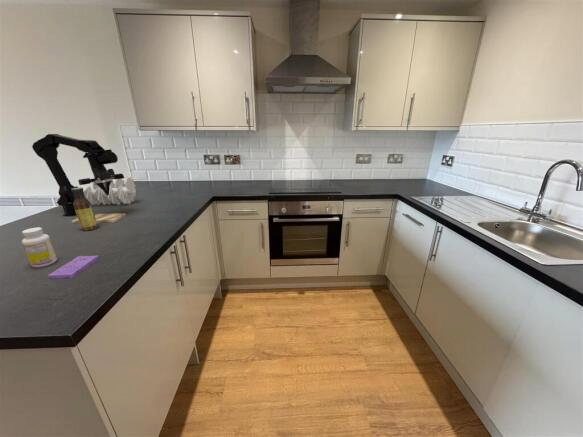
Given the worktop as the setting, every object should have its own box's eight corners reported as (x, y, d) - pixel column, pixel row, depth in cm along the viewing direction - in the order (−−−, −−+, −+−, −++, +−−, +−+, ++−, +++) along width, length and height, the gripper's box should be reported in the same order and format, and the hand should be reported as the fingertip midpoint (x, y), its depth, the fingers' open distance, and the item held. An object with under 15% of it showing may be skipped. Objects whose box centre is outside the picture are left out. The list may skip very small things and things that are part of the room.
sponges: (99, 259, 89) (98, 255, 88) (72, 279, 77) (70, 274, 76) (79, 260, 88) (78, 255, 88) (49, 279, 77) (47, 274, 76)
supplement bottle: (43, 258, 88) (30, 226, 84) (62, 258, 89) (51, 225, 84) (25, 268, 82) (11, 233, 77) (46, 267, 82) (33, 233, 78)
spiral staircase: (100, 208, 158) (141, 205, 162) (80, 204, 141) (126, 201, 144) (99, 181, 160) (139, 179, 163) (79, 174, 143) (125, 171, 146)
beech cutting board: (72, 223, 122) (71, 220, 122) (87, 216, 133) (87, 213, 132) (113, 222, 124) (113, 220, 124) (125, 215, 134) (125, 213, 134)
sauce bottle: (101, 227, 117) (90, 187, 111) (87, 232, 112) (74, 190, 105) (92, 225, 119) (80, 186, 113) (78, 230, 114) (65, 189, 107)
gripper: (78, 167, 112) (90, 199, 117) (122, 162, 126) (132, 191, 130) (73, 168, 119) (84, 199, 124) (116, 163, 133) (125, 191, 137)
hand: (107, 195), depth 129 cm, fingers closed
